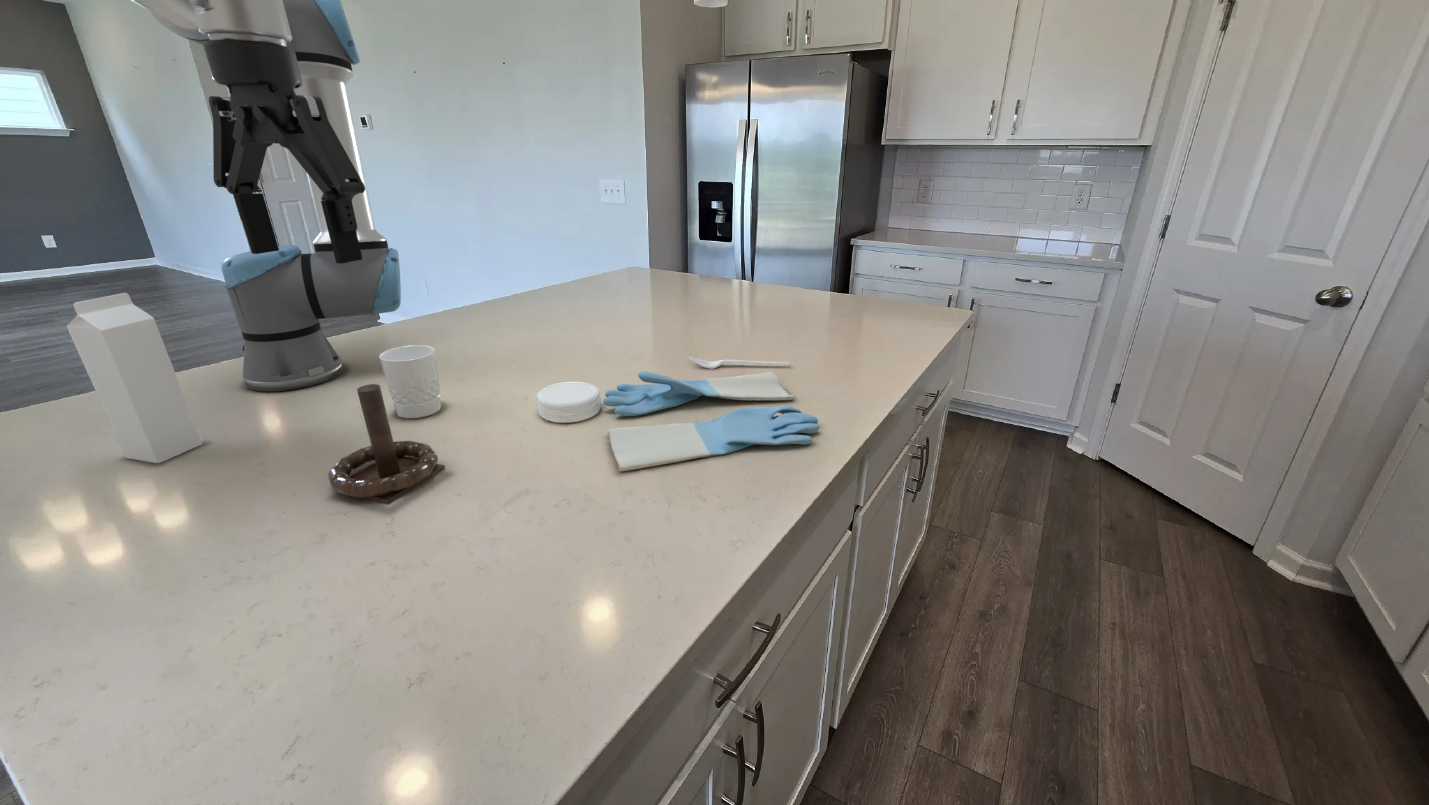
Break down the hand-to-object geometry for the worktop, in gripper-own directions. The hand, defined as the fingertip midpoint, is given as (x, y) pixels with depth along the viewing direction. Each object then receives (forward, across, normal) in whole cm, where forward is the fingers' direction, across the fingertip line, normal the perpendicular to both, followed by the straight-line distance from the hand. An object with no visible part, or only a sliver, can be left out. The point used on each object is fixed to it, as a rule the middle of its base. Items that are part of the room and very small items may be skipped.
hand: (306, 256), depth 67 cm
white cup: (+28, -8, +17) cm, 34 cm away
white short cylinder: (+28, +16, +26) cm, 41 cm away
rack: (+28, +8, -2) cm, 29 cm away
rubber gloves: (+28, +38, +32) cm, 57 cm away
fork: (+28, +35, +57) cm, 72 cm away
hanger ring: (+26, +7, -2) cm, 26 cm away
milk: (+28, -30, -7) cm, 42 cm away
